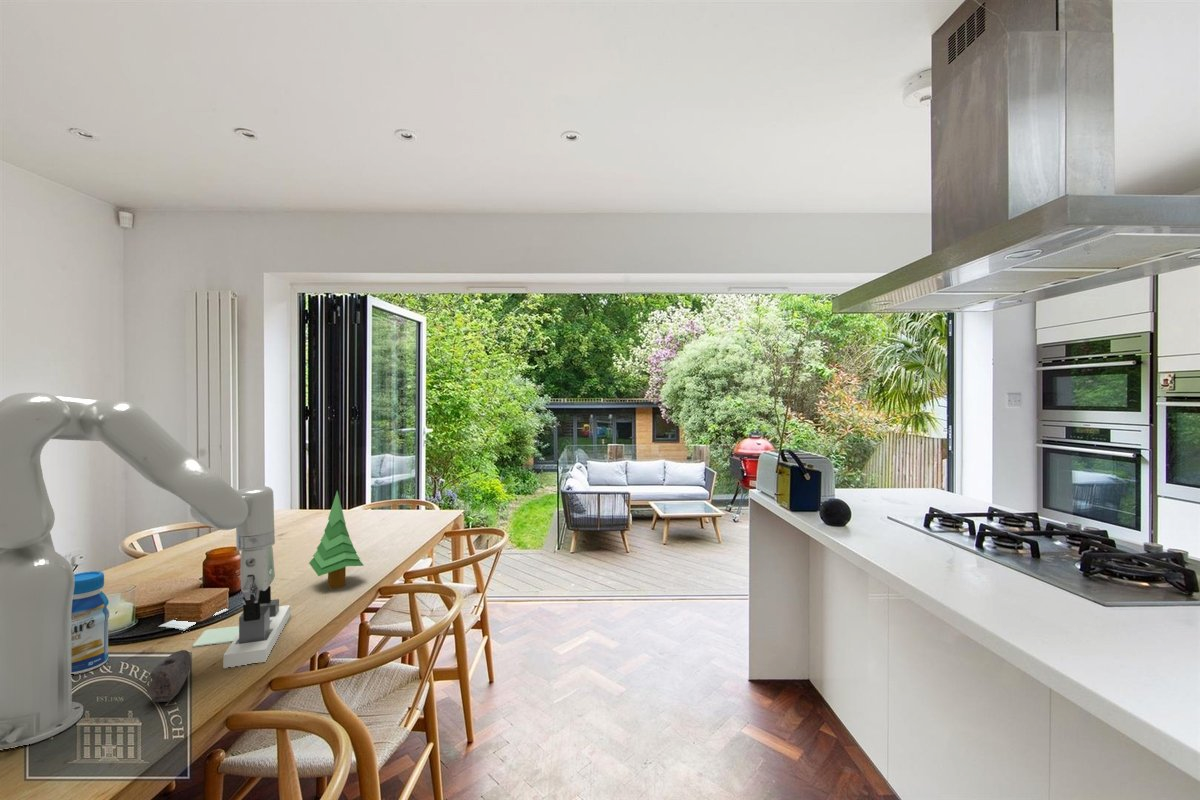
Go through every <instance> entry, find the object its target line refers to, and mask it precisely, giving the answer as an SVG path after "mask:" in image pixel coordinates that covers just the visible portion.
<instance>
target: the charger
mask: <svg viewBox="0 0 1200 800" xmlns="http://www.w3.org/2000/svg"><path fill="white" fill-rule="evenodd" d="M260 616H261V617H260V619H259V620H253V621H246V622H245V621H244V620H243V612H242V613H241V614H240V615H239V617H238V618H239V619H238V626H239V644H242V643H250V642H257V641H265V640H267V639H268V637H269V635H270V606H268V607H260Z"/></svg>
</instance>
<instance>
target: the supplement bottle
mask: <svg viewBox="0 0 1200 800" xmlns="http://www.w3.org/2000/svg"><path fill="white" fill-rule="evenodd" d="M74 577H75V585H74V593H73V600H72V611H71V674H74V675H79V673H80V674H84V673H87V672H90V671H93V670H95V669H97V668H99V667H102V666H103V665H105V664H106V663H107V661H108V660H109V618H110V610H109V609H108V608H107V607H108V605H109V599H108V596H107V595H106V594H105V592H103V591H102V589H104V585H105V574H104V572H103V571H96V570H93V571H84V572H79V573H74Z"/></svg>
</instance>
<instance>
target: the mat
mask: <svg viewBox="0 0 1200 800" xmlns="http://www.w3.org/2000/svg"><path fill="white" fill-rule="evenodd" d="M238 633H239V625H235V626H227V627H226V626H225V627H218V628H210V629H209V628H208V629H205V630H204V631H203V632H202V633H201V635H200V636H199V637H198V638H197V639H196V641H195V642H194V643H193V644H192V645H191V648H192V647H193V648H195V647H194V646H201V647H205V646H204V645H209V646H213V645H212V644H216V645H221V644H222V645H223V643H224V644H230V642H233V641H234V639H235V638H236V636H237V635H238Z"/></svg>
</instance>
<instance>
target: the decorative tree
mask: <svg viewBox="0 0 1200 800" xmlns="http://www.w3.org/2000/svg"><path fill="white" fill-rule="evenodd" d="M357 553H358V552H357V551H356V549H355V547H354V544H353V542H352V540H351V537H350V535H349V531H348V528H347V526H346V519H345V516H344V511H343V507H342V504H341V499H340V496H339V492H338V490H336V493H335V496H334V499H333V502H332V506H331V508H330V512H329V515H328V522H327V523H326V526H325V529H324V533H323V535H322V537H321V539H320V543H319V544H318V546H317V547H316V551H315V552H314V554H313V555H312V557H313V558H312V559H311V560H310V561H309V562H308V564H309V565H310V566H311V568H312V569H313V570H314V572H315V573H316V575H317V576H318V577H321V576H323V575H326V574H327V587H328V588H330V589H337V588H339V587H340V588H342V587H344V586H345V585H346V583H347V582H346V579H347V578H346V575H347V574H346V572H347V571H346V570H347V569H346V568H347V567H364V563H362V560H361V558H360V557H359V556H358V554H357ZM340 588H339V589H340Z"/></svg>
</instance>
